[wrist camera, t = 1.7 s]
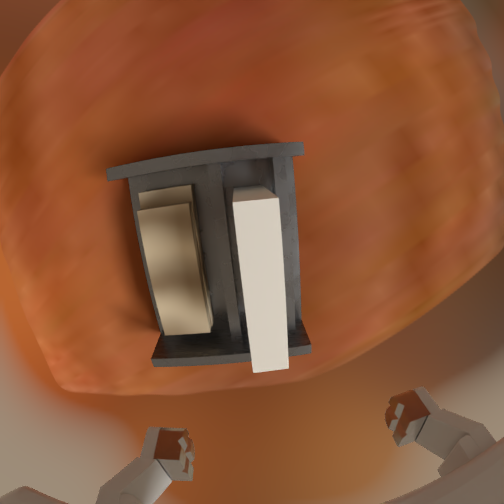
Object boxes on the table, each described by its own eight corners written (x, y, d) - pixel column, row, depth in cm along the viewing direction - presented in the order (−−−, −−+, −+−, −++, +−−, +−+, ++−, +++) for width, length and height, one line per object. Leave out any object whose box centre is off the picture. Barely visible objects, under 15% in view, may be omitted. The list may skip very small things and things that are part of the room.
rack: (131, 167, 30) (106, 168, 23) (288, 146, 30) (303, 141, 23) (165, 334, 36) (153, 366, 30) (299, 321, 37) (311, 353, 30)
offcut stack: (144, 191, 29) (131, 195, 25) (193, 183, 29) (187, 186, 25) (170, 320, 34) (163, 338, 30) (213, 317, 34) (211, 335, 30)
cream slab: (233, 187, 30) (232, 202, 18) (262, 185, 30) (278, 197, 18) (247, 306, 34) (253, 372, 22) (272, 303, 34) (288, 368, 22)
